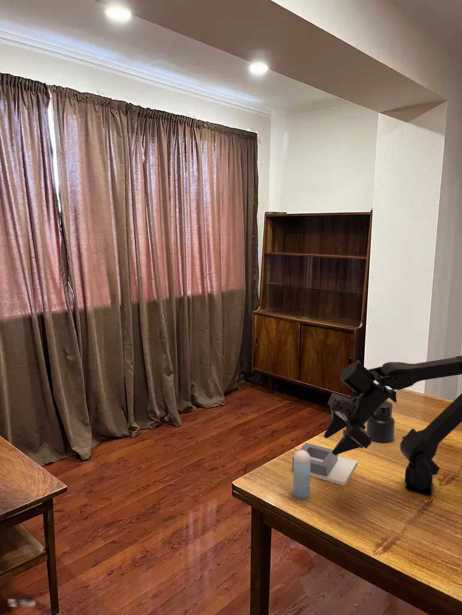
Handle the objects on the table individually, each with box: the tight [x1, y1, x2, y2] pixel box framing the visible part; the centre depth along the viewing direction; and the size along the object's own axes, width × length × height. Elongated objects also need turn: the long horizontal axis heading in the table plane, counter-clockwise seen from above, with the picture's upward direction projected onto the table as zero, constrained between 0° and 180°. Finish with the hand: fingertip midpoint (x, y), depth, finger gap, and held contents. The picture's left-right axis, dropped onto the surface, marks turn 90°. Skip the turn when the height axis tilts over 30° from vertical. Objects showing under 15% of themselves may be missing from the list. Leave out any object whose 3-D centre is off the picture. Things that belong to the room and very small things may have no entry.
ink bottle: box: [365, 400, 396, 443], centre depth 149 cm, size 10×9×12 cm
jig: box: [292, 442, 358, 487], centre depth 131 cm, size 16×13×4 cm
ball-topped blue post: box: [292, 449, 311, 500], centre depth 118 cm, size 4×4×12 cm
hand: (328, 445), depth 119 cm, fingers open, 9 cm apart
